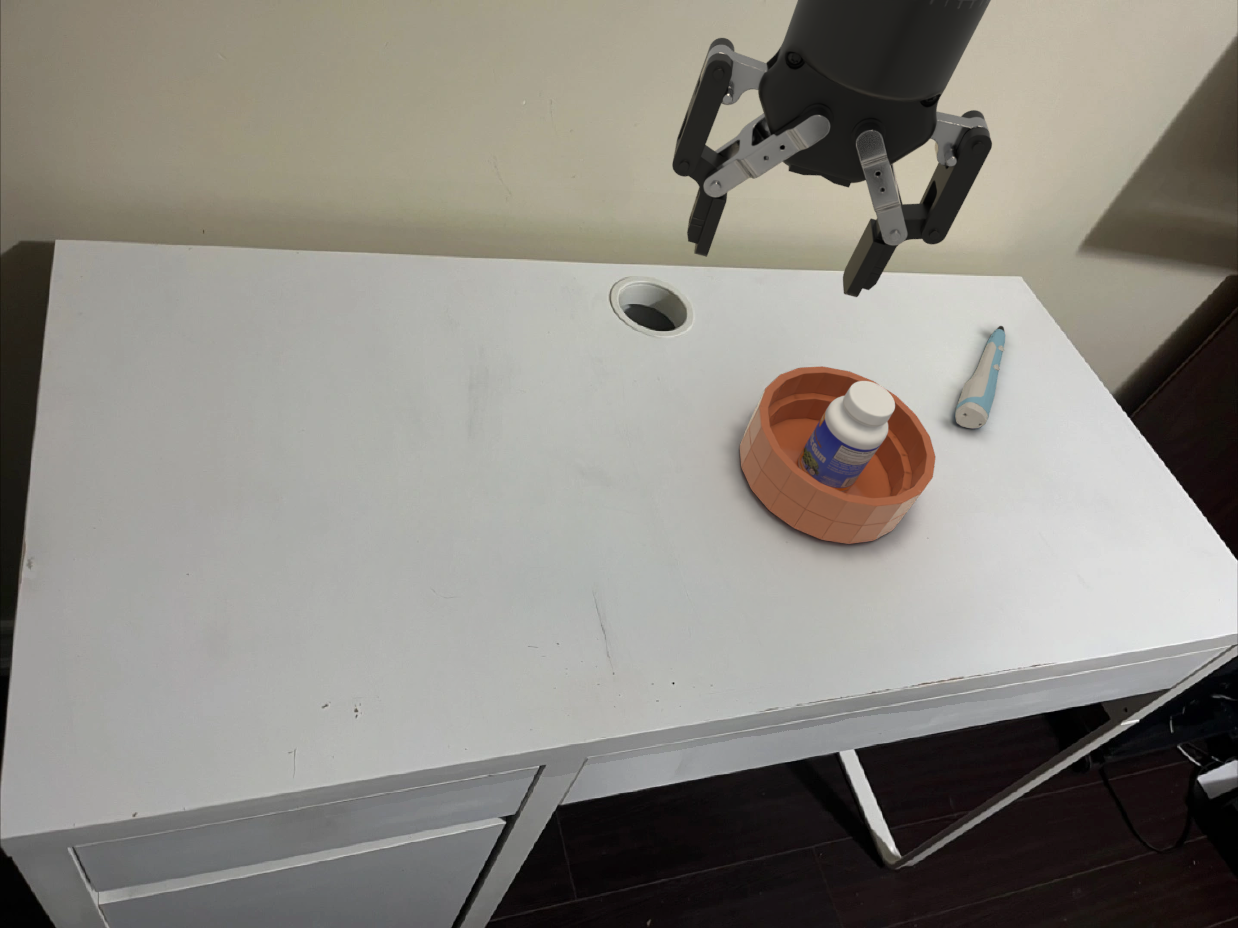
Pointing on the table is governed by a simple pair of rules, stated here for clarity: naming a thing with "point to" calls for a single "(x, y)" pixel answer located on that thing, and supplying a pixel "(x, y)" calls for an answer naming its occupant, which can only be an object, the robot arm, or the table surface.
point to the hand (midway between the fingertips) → (775, 267)
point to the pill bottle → (848, 435)
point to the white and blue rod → (981, 385)
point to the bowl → (800, 497)
